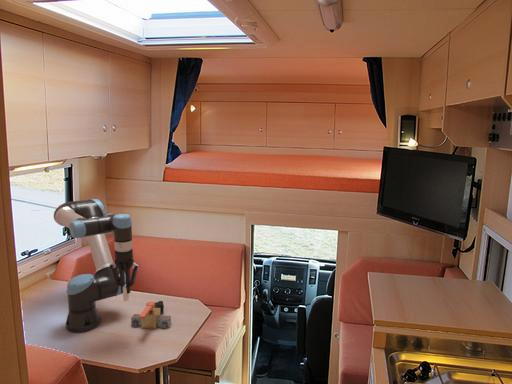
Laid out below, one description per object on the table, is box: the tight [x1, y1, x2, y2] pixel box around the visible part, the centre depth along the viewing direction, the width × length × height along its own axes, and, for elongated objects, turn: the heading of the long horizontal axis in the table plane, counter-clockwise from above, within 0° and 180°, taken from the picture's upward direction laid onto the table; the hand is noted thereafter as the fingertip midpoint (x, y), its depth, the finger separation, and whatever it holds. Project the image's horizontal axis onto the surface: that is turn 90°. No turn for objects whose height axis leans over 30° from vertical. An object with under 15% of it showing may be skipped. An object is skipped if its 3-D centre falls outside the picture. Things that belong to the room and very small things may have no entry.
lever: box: [139, 301, 156, 319], centre depth 186 cm, size 14×4×2 cm, turn 176°
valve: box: [130, 308, 172, 330], centre depth 192 cm, size 18×7×9 cm, turn 86°
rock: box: [154, 300, 165, 315], centre depth 201 cm, size 9×10×6 cm
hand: (126, 299), depth 181 cm, fingers closed
